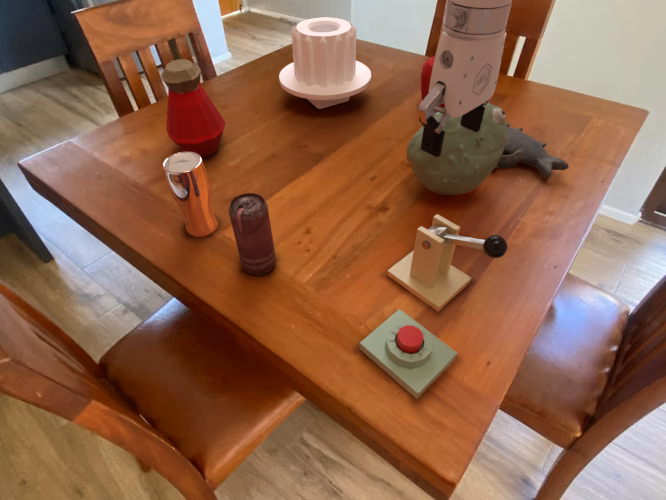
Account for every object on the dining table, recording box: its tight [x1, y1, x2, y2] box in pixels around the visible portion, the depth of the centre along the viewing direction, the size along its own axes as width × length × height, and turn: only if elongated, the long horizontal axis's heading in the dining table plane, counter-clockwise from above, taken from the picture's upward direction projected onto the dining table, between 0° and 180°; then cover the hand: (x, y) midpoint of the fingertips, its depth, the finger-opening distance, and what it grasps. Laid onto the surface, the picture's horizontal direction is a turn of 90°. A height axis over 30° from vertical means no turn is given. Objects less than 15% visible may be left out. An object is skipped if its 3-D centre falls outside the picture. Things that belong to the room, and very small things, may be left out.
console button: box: [397, 325, 423, 353], centre depth 61 cm, size 4×4×2 cm
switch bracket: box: [386, 213, 472, 312], centre depth 70 cm, size 11×9×12 cm
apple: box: [420, 55, 445, 108], centre depth 113 cm, size 11×10×14 cm
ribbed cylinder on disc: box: [278, 16, 372, 110], centre depth 115 cm, size 25×25×19 cm
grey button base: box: [358, 308, 458, 400], centre depth 63 cm, size 11×9×4 cm
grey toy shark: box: [493, 126, 569, 179], centre depth 98 cm, size 5×25×15 cm
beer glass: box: [162, 151, 219, 238], centre depth 79 cm, size 7×7×15 cm
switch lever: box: [427, 225, 509, 259], centre depth 63 cm, size 13×3×3 cm, turn 43°
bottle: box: [160, 59, 226, 160], centre depth 98 cm, size 16×14×20 cm
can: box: [228, 192, 277, 276], centre depth 72 cm, size 6×6×14 cm
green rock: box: [406, 101, 512, 196], centre depth 85 cm, size 16×19×20 cm
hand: (450, 140), depth 65 cm, fingers open, 9 cm apart
